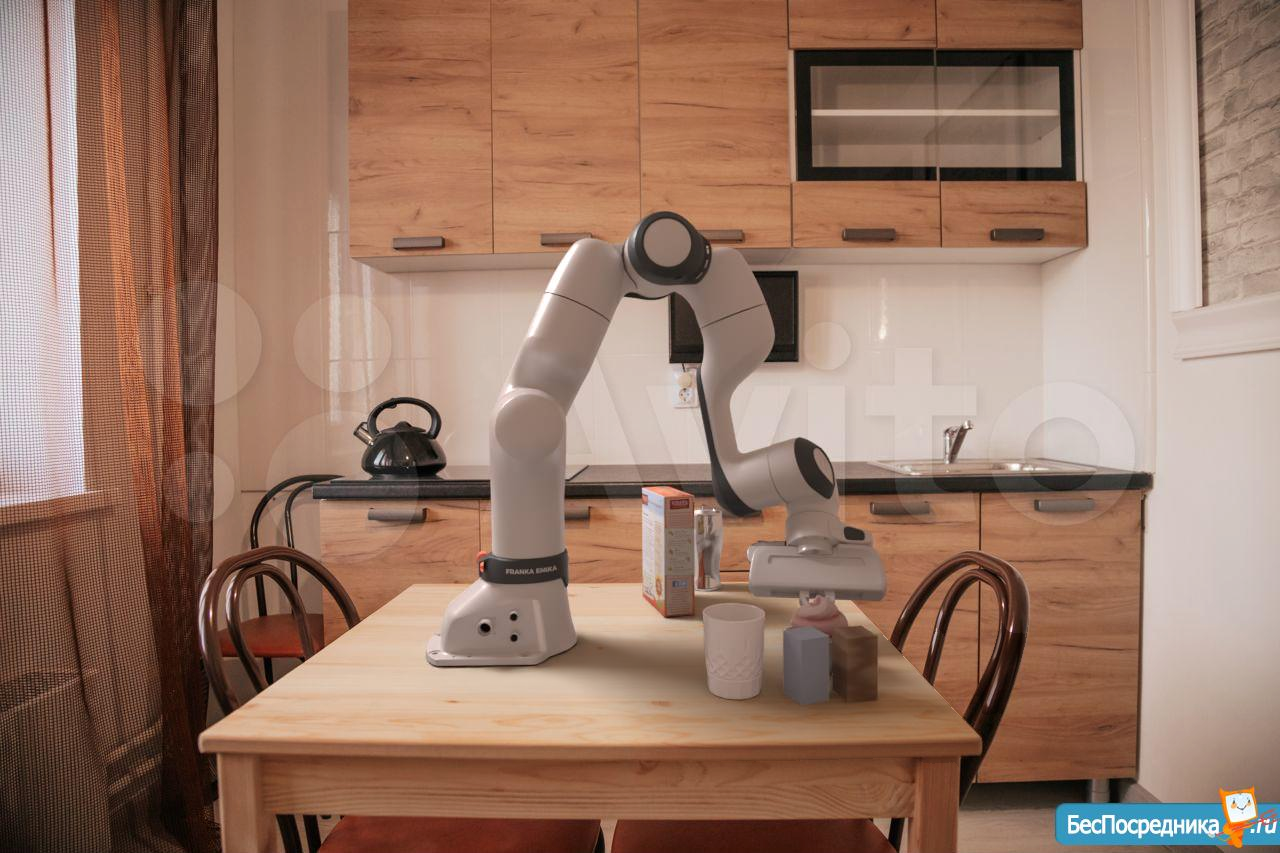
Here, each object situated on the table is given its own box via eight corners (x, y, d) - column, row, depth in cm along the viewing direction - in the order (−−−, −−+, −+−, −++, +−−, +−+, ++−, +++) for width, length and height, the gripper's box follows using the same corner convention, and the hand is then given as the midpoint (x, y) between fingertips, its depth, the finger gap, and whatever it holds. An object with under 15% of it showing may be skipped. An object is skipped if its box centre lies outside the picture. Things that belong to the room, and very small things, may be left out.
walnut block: (847, 703, 84) (847, 638, 84) (832, 690, 88) (831, 627, 88) (877, 700, 85) (877, 635, 85) (861, 687, 89) (861, 625, 89)
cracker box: (697, 615, 119) (696, 494, 118) (663, 618, 118) (662, 496, 117) (672, 593, 133) (670, 484, 132) (641, 596, 131) (640, 486, 130)
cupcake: (775, 656, 99) (774, 588, 99) (834, 650, 101) (834, 583, 101) (804, 682, 90) (803, 607, 90) (869, 675, 92) (868, 601, 92)
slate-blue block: (801, 705, 84) (801, 640, 84) (783, 692, 88) (783, 630, 87) (829, 700, 85) (829, 635, 85) (810, 687, 89) (809, 625, 89)
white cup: (778, 693, 87) (778, 614, 87) (728, 707, 83) (727, 625, 83) (739, 672, 94) (739, 599, 94) (691, 684, 90) (690, 608, 90)
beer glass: (725, 591, 133) (724, 514, 133) (689, 592, 133) (688, 514, 133) (721, 582, 140) (721, 508, 140) (687, 582, 140) (686, 508, 140)
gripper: (747, 529, 110) (745, 609, 101) (882, 532, 106) (893, 615, 97) (748, 551, 114) (746, 629, 105) (878, 554, 110) (888, 636, 101)
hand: (818, 623), depth 101 cm, fingers closed, pressing on cupcake
